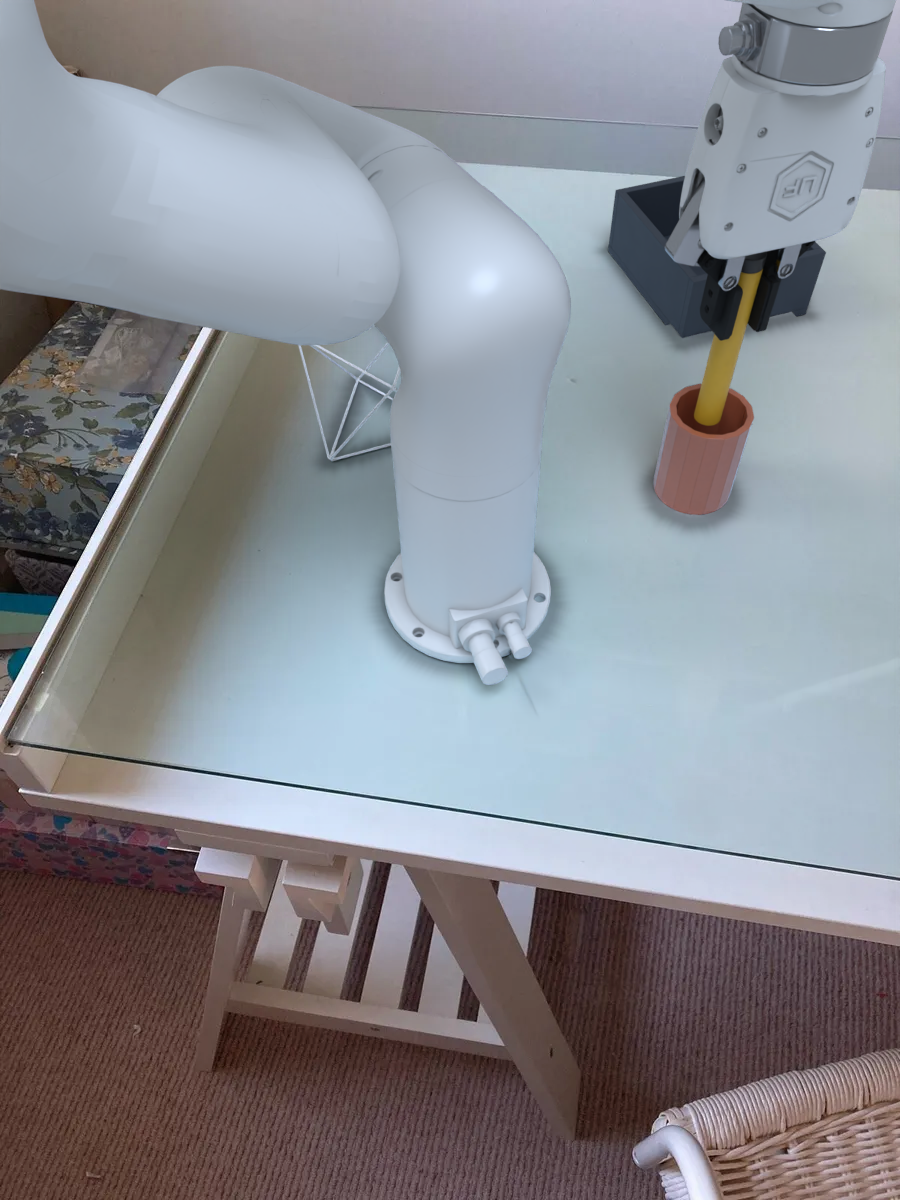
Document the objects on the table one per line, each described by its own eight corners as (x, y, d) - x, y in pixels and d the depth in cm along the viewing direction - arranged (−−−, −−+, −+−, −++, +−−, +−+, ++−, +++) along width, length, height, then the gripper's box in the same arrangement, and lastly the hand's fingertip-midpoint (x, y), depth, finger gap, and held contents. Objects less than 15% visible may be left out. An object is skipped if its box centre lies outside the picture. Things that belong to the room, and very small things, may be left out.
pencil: (725, 422, 72) (773, 256, 61) (701, 428, 72) (745, 262, 61) (712, 405, 73) (757, 240, 62) (689, 411, 73) (729, 246, 62)
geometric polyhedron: (375, 491, 80) (366, 408, 73) (284, 433, 85) (268, 349, 77) (469, 413, 86) (470, 329, 79) (380, 363, 90) (373, 279, 83)
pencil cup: (741, 509, 78) (769, 427, 71) (673, 529, 77) (694, 447, 70) (705, 459, 82) (728, 376, 75) (639, 477, 81) (656, 394, 74)
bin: (805, 314, 94) (826, 252, 88) (680, 344, 91) (693, 282, 86) (723, 225, 103) (737, 164, 98) (607, 250, 101) (615, 189, 95)
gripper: (709, 91, 48) (651, 383, 62) (978, 43, 51) (862, 332, 65) (643, 30, 52) (603, 316, 67) (894, -11, 55) (803, 271, 70)
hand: (732, 322), depth 66 cm, fingers closed on pencil, 2 cm apart
